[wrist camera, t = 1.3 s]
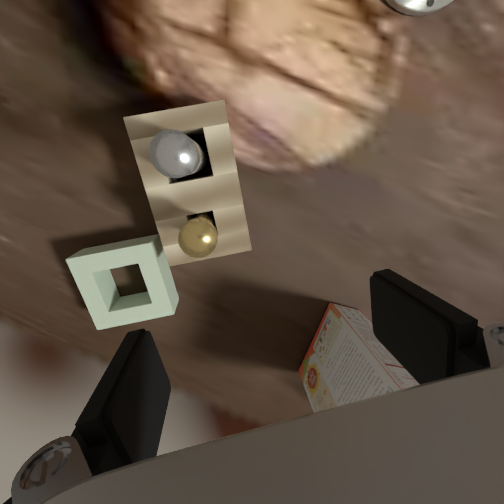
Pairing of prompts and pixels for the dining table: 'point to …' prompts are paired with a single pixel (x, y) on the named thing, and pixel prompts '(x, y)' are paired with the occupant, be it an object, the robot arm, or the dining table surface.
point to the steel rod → (176, 154)
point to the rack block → (105, 291)
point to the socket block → (192, 190)
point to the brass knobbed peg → (198, 236)
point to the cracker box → (349, 362)
